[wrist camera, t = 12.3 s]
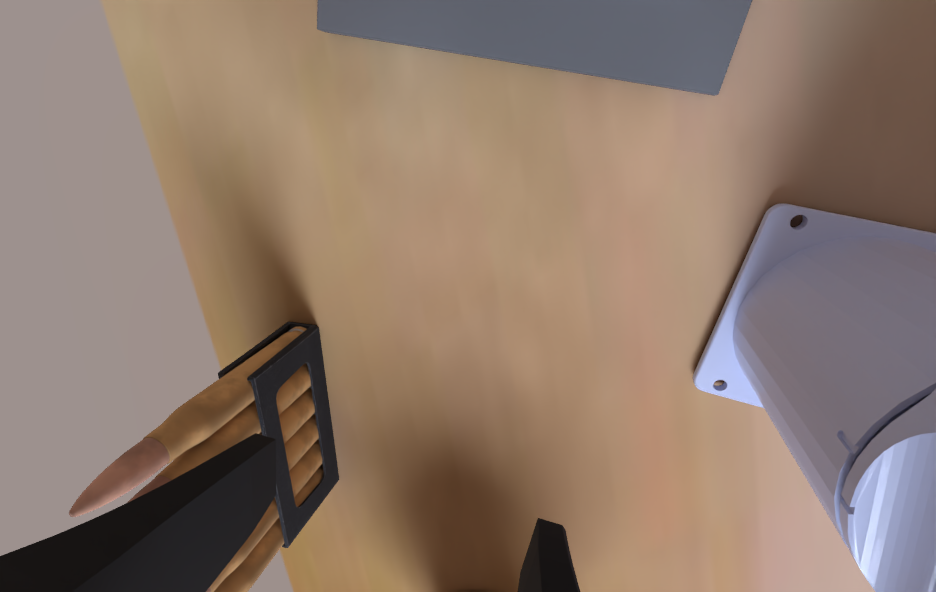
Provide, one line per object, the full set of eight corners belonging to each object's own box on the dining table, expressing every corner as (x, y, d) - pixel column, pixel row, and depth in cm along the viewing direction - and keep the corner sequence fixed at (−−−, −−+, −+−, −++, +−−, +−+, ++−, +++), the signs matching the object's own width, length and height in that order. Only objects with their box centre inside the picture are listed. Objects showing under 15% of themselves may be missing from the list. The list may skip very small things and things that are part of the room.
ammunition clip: (288, 320, 24) (36, 485, 13) (318, 324, 23) (83, 497, 13) (313, 474, 28) (135, 698, 17) (339, 480, 27) (173, 714, 17)
